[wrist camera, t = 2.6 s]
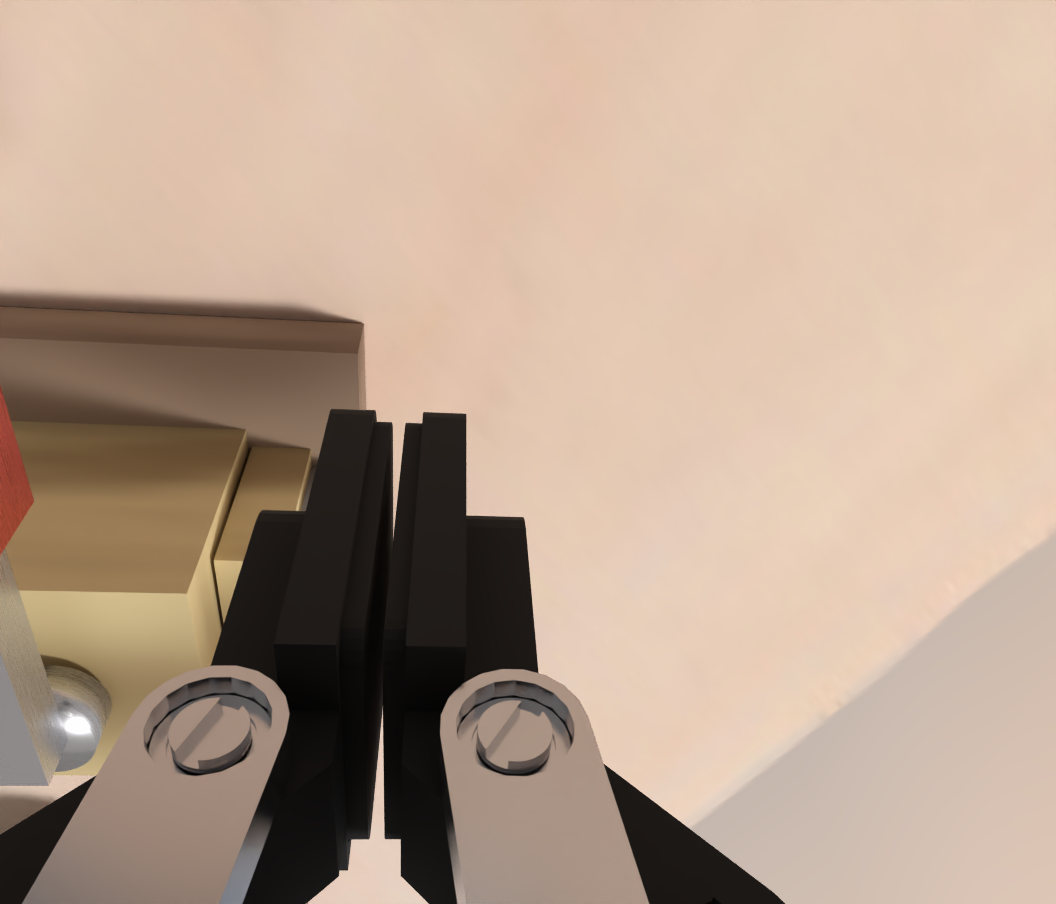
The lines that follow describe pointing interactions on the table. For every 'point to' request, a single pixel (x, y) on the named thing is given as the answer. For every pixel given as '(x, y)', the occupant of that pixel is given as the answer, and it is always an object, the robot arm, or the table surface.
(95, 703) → the valve lever
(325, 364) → the valve block
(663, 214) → the table surface
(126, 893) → the robot arm
